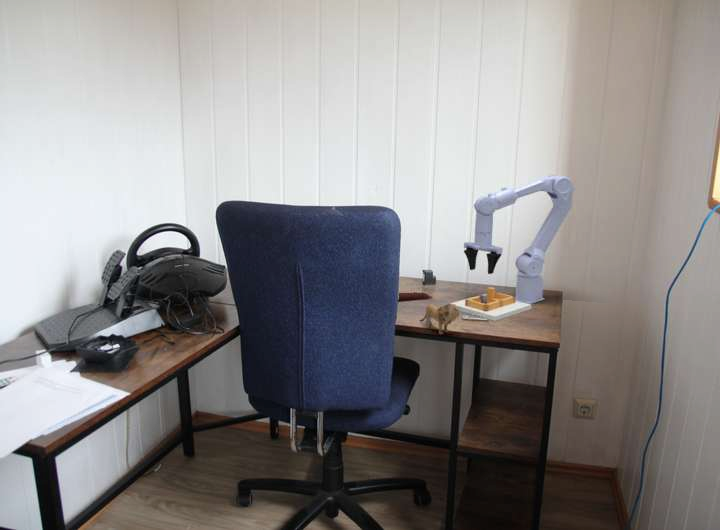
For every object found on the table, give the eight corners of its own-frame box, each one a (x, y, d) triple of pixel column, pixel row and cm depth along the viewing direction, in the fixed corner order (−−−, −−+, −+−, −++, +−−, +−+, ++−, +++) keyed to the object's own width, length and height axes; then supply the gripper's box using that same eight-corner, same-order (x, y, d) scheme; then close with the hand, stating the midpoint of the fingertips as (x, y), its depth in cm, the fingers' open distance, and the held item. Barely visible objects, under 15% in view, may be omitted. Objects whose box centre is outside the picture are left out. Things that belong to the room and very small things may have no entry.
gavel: (426, 286, 193) (438, 293, 184) (425, 298, 194) (437, 306, 185) (372, 286, 187) (381, 294, 178) (371, 299, 188) (380, 307, 178)
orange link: (494, 297, 185) (495, 281, 183) (515, 302, 178) (516, 286, 177) (465, 305, 174) (465, 289, 173) (486, 311, 168) (487, 294, 167)
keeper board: (486, 297, 190) (487, 282, 189) (531, 309, 177) (532, 293, 175) (449, 307, 177) (450, 292, 176) (494, 321, 164) (496, 304, 163)
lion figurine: (462, 334, 152) (463, 303, 150) (449, 338, 149) (450, 307, 147) (425, 321, 163) (426, 292, 162) (412, 324, 160) (413, 295, 158)
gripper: (459, 230, 184) (457, 269, 187) (494, 236, 173) (492, 277, 176) (471, 229, 188) (470, 266, 191) (507, 234, 177) (504, 273, 180)
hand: (481, 271), depth 184 cm, fingers open, 7 cm apart
